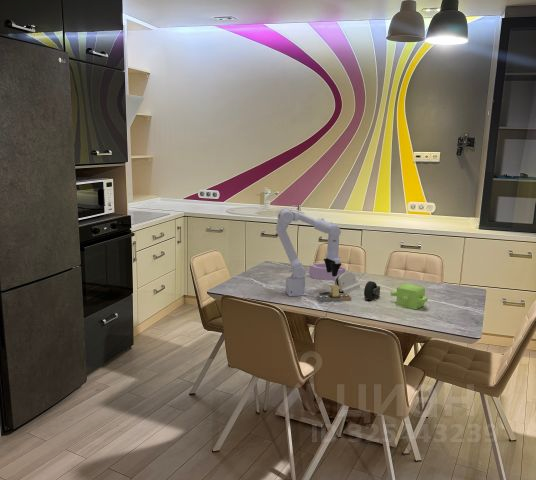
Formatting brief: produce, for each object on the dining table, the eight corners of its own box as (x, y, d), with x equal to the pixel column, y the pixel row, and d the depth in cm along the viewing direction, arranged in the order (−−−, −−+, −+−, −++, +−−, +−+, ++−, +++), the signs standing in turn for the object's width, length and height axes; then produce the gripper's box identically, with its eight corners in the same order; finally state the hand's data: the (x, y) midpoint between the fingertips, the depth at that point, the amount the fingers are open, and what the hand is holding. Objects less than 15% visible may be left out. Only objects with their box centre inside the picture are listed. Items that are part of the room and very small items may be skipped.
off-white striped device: (344, 294, 255) (339, 275, 255) (336, 295, 258) (332, 276, 258) (360, 287, 267) (356, 269, 268) (353, 288, 271) (348, 270, 271)
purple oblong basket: (347, 278, 286) (347, 266, 285) (339, 283, 275) (340, 271, 274) (315, 273, 295) (315, 262, 294) (306, 277, 285) (307, 266, 283)
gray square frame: (322, 297, 248) (322, 295, 248) (319, 294, 253) (319, 292, 252) (331, 297, 249) (331, 294, 249) (328, 294, 254) (328, 292, 253)
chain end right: (331, 301, 242) (331, 297, 241) (326, 297, 248) (327, 293, 247) (351, 300, 244) (351, 296, 244) (346, 296, 250) (346, 292, 250)
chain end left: (320, 302, 240) (320, 298, 240) (316, 298, 246) (316, 294, 246) (340, 301, 243) (340, 297, 242) (336, 297, 248) (336, 293, 248)
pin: (332, 300, 243) (332, 287, 242) (329, 298, 247) (330, 285, 245) (339, 300, 244) (340, 287, 243) (336, 298, 248) (337, 285, 246)
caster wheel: (371, 304, 243) (384, 294, 254) (372, 285, 240) (384, 276, 252) (361, 301, 246) (373, 292, 257) (361, 283, 243) (374, 274, 255)
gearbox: (385, 304, 241) (386, 285, 239) (395, 299, 248) (396, 281, 246) (420, 312, 229) (421, 293, 227) (429, 306, 237) (430, 287, 235)
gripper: (345, 251, 244) (344, 277, 247) (335, 245, 258) (334, 270, 260) (332, 251, 242) (331, 278, 245) (322, 245, 256) (321, 270, 259)
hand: (331, 274), depth 253 cm, fingers open, 7 cm apart
